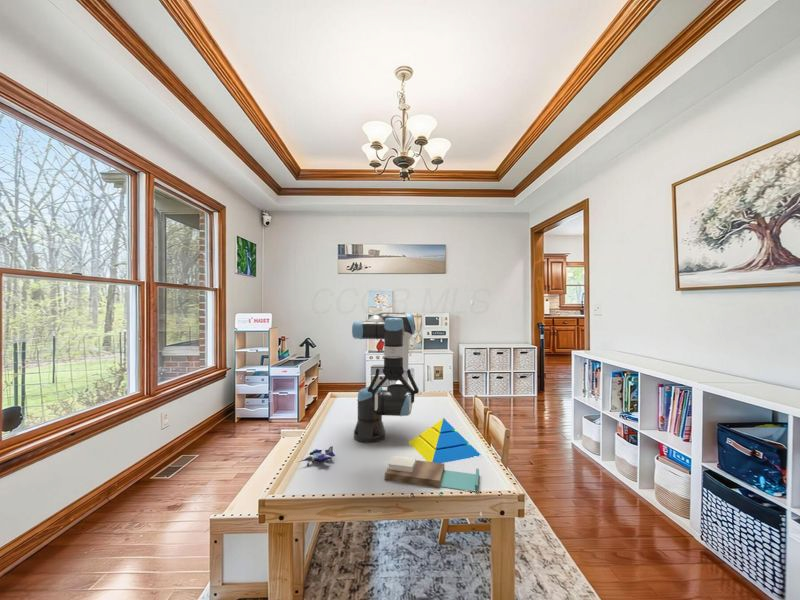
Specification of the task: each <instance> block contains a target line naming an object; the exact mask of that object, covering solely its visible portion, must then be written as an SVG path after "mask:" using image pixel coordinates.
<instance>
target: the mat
mask: <svg viewBox="0 0 800 600" xmlns="http://www.w3.org/2000/svg"><path fill="white" fill-rule="evenodd" d="M479 481H480V469H479V468H476V469H475V473H470V472H469V473H468V472H462V471H454V470H449V469H448V470H447V469H444V473H443V477H442V480H441V484H440V488H443V489H451V490H458V491H464V490H468V491H467V492H471V491H474V490H475V491H478V492H479V483H478V482H479Z"/></svg>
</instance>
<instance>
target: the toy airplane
mask: <svg viewBox="0 0 800 600" xmlns="http://www.w3.org/2000/svg"><path fill="white" fill-rule="evenodd" d="M333 451H334V447H333V446H332V445H331V446H330V447H329V448H328V449H324V453H323V450H322V449H318V448H317V449H316V448H315V449H313V450H312V451H311V452H309V453H308V456H306V457H305V458H304V459H302V460H300V461H298V463H300V462H306V461H307V464H306V466H307V467H308V466H310V462H311V463H314V462H318V463H330V462H331V460H332V457H333V458H334V457H336V454H335V452H333Z"/></svg>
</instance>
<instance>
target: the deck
mask: <svg viewBox="0 0 800 600" xmlns="http://www.w3.org/2000/svg"><path fill="white" fill-rule="evenodd" d="M444 470H445V463H435V462H428V461H427V460H419V459H418V460H417V459H416V465H415V468H414V470H413V472H405V471H397V470H390V469H389V466H388V467H387V469H386V470H385V472H384V481H390V482H398V483H403V484H404V483H405V484H412V485H418V486H419V485H420V486H425V487H433V488H437V489H438V488H439V489H440V488H441V487H440V484H441V480H442V477H443V473H444Z"/></svg>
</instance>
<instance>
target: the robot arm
mask: <svg viewBox="0 0 800 600" xmlns="http://www.w3.org/2000/svg"><path fill="white" fill-rule="evenodd" d="M414 323H415V322H414V316H413V314H412V313H410V312H404V311H403V312H380V313H376V314H373V315H371V316H369V317H368V318H367V320H363V321H362V320H359V321H353V323H352V327H351V334H352V337H353V339H355V340H356V339H357V340H358V339H359V340H383V341H384V346H383V348H384V349H383V356H384V358H383V368H380V367H377V368H376V369H375V374H374V376H373V378H372V381H371V383H370V385H369V386H367V387H363V388H362V389H360V390H358V393H357V400H356V401H357V422H356V425H355V428H354V430H353V438H354V440H355V441H358V442H359V443H360V442H361V443H367V444H368V443H377V442H380V441H382V440H384V439H385V438H386V430H385V429H386V428H385V425H384V422H383V416H391V417H393V416H395V417H404V416H405V417H407V416H410V415H411V413H412V409H413V403H415V395H416V394H417V395H418V394H419V392H420V389H419V388H418V387H419V386H417V383H416V381H415V379H414V377H413V374H412V371H411V368H409V356H410V355H409V353H410V351H409V350H410V347H409V346H410V345H409V343H410V342H409V341H410V340H411V339H412V337H413V335H415V332H416V331H415V324H414ZM381 374H383V375H384V377H383V378H382V379H381V381H379V383H378V384H377V385H375V384H376V381H377V380H378V378H379V376H380V375H381ZM387 380H388V381H390V383H388V385H387V386H386V389H385V390H384V389H383V388H382V385H383V384H384V383H385V382H386V381H387ZM409 382H410V383H411V385H412V386H411V385H410V384H409Z"/></svg>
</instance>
